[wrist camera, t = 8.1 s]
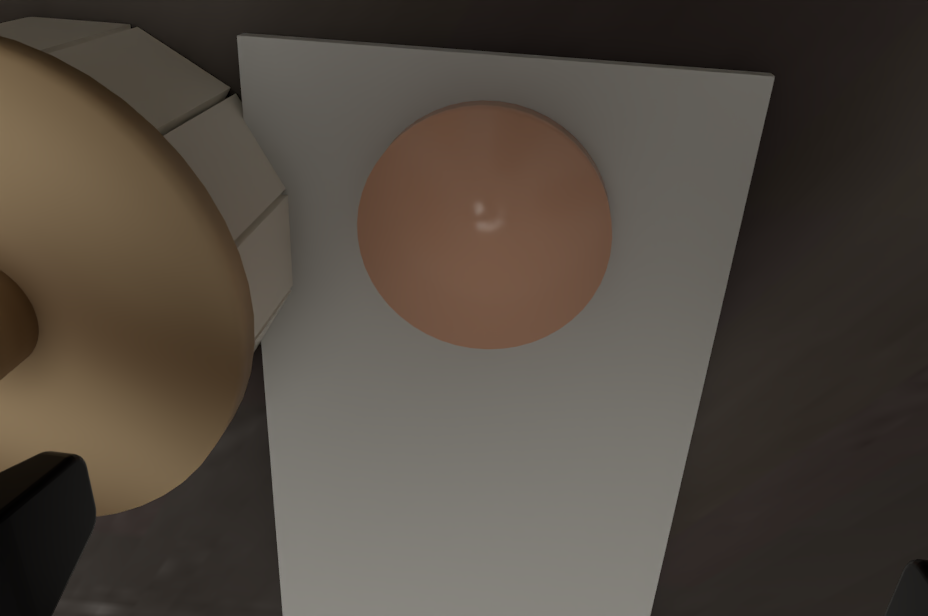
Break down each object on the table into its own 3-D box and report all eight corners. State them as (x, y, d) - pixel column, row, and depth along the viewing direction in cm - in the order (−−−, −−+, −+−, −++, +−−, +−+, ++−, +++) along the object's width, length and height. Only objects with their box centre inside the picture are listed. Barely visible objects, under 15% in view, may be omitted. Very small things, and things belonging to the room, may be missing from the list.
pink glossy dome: (631, 115, 18) (634, 127, 17) (588, 344, 21) (589, 364, 20) (370, 85, 18) (360, 95, 17) (363, 313, 21) (354, 331, 20)
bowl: (284, 35, 18) (204, 74, 14) (303, 394, 23) (247, 498, 19) (-116, 5, 19) (-296, 34, 15) (-19, 357, 24) (-138, 449, 20)
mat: (770, 72, 17) (775, 76, 17) (633, 676, 27) (633, 687, 26) (243, 33, 18) (236, 35, 18) (288, 627, 28) (284, 636, 27)
